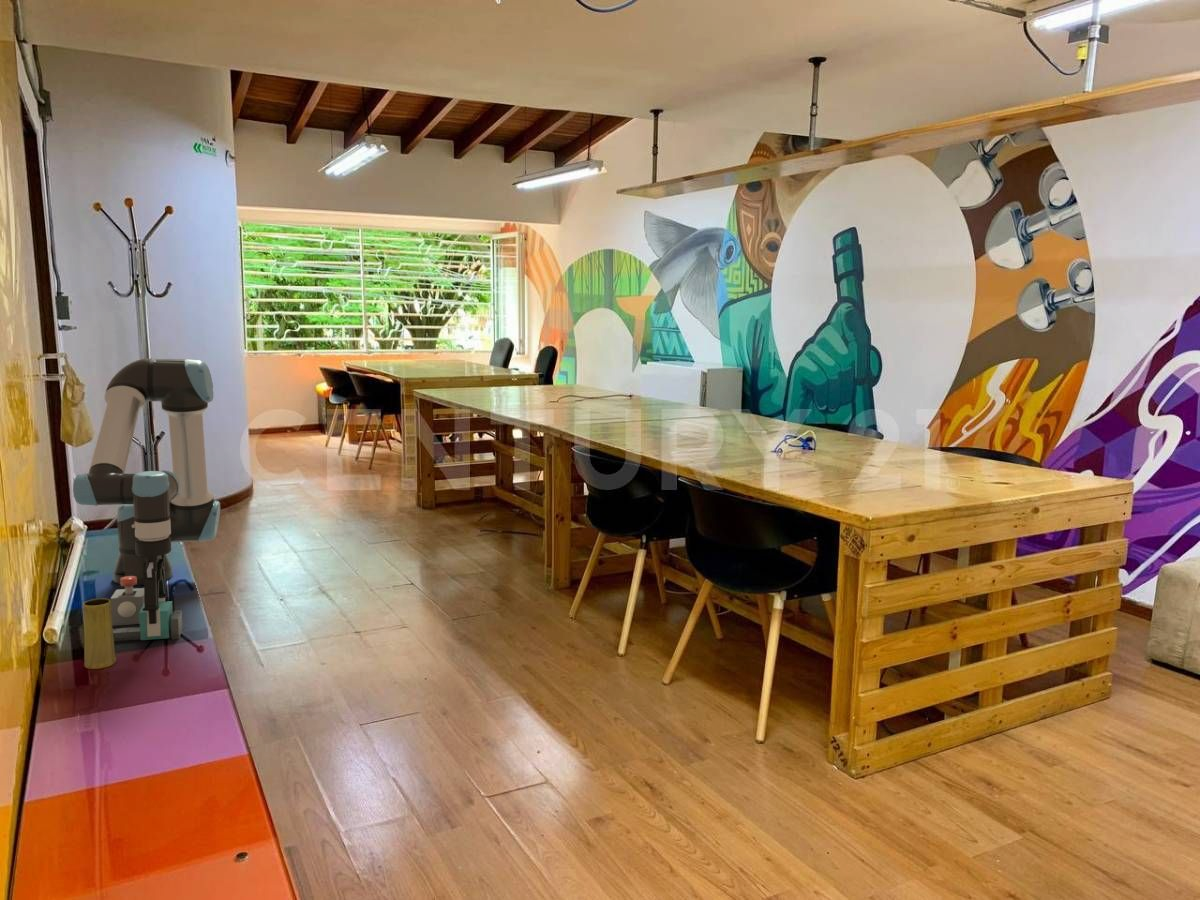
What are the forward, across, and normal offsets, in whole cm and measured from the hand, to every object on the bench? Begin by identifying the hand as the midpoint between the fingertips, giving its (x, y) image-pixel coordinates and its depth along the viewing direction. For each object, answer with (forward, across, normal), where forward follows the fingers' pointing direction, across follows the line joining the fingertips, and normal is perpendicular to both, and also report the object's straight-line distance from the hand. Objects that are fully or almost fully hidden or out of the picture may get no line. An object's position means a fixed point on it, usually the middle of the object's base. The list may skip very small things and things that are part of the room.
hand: (156, 629), depth 203 cm
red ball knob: (-4, -13, -8) cm, 16 cm away
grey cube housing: (+2, -13, -8) cm, 15 cm away
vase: (+2, +15, -9) cm, 18 cm away
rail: (+2, 0, -4) cm, 5 cm away
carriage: (+2, 0, 0) cm, 2 cm away
